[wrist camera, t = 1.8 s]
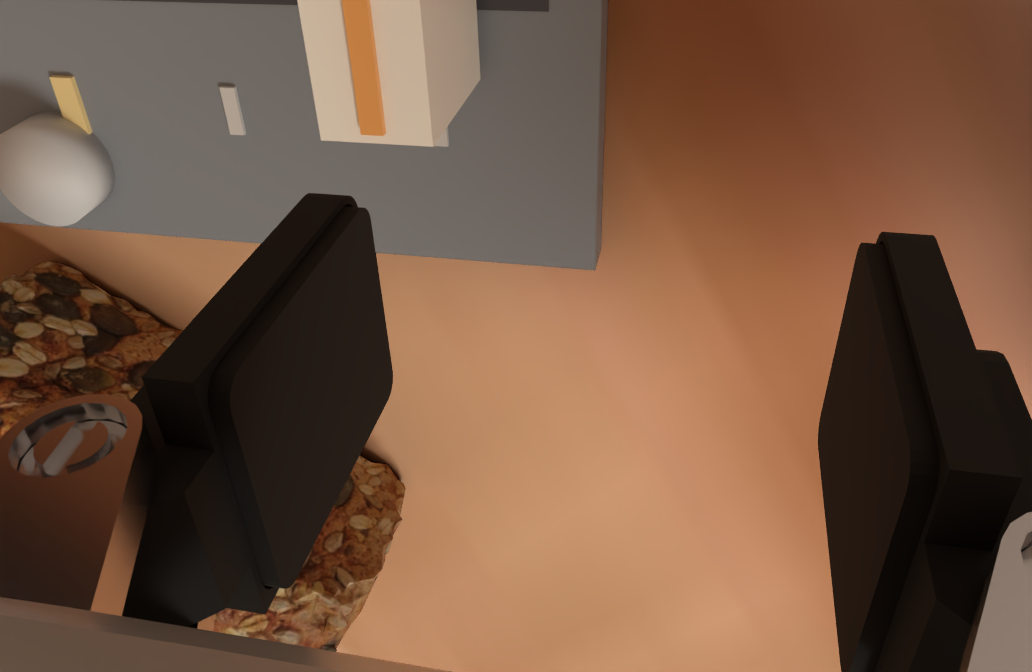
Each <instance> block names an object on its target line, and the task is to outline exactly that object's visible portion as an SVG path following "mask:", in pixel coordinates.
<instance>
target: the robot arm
mask: <svg viewBox="0 0 1032 672" xmlns="http://www.w3.org/2000/svg"><path fill="white" fill-rule="evenodd" d="M142 380H143V383H144V385H143V386H142V388H141V389H140V390H139V391H138V392H137V393H136V394H135V396H134V397H133V398H132V399H131V400H130V401H129V400H127V399H125V398H124V397H119V396H114V395H109V394H86V395H81V396H76V397H71V398H66V399H63V400H60V401H57V402H55V403H52V404H49V405H47V406H44V407H41V408H40V409H38V410H36V411H34V412H33V413H31V414H29V415H27V416H26V417H24V418H22V419H21V420H20V421H19V422H17V423H16V424H15V425H14V426H13V427H11V428H10V429H9V430H8V431H7V432H6V433H5V434H4V435H3V437H2V438H1V440H0V672H450V671H445V670H439V669H433V668H427V667H421V666H415V665H410V664H404V663H398V662H392V661H386V660H380V659H374V658H369V657H363V656H357V655H351V654H345V653H339V652H333V651H327V650H322V649H316V648H310V647H304V646H298V645H292V644H286V643H281V642H275V641H268V640H262V639H256V638H250V637H244V636H238V635H232V634H226V633H220V632H214V614H216V613H218V612H220V611H222V610H224V609H225V608H229V609H235V610H241V611H247V612H253V613H259V614H266V613H267V611H268V609H269V607H270V605H271V603H272V601H273V599H274V597H275V595H276V594H277V592H278V590H279V588H283V589H287V588H290V587H291V586H292V585H293V583H294V582H295V580H296V579H297V577H298V575H299V573H300V571H301V569H302V567H303V565H304V563H305V561H306V559H307V557H308V555H309V553H310V551H311V549H312V547H313V545H314V543H315V542H316V540H317V538H318V536H319V534H320V532H321V530H322V528H323V526H324V524H325V522H326V520H327V518H328V516H329V514H330V512H331V510H332V508H333V506H334V504H335V502H336V501H337V499H338V497H339V495H340V493H341V491H342V489H343V487H344V485H345V483H346V481H347V479H348V477H349V475H350V473H351V471H352V469H353V467H354V465H355V463H356V461H357V460H358V458H359V456H360V454H361V452H362V450H363V448H364V446H365V444H366V442H367V440H368V438H369V436H370V434H371V432H372V430H373V428H374V426H375V424H376V422H377V420H378V419H379V417H380V415H381V413H382V411H383V409H384V407H385V405H386V403H387V401H388V399H389V396H390V393H391V389H392V383H393V371H392V364H391V357H390V350H389V343H388V336H387V329H386V322H385V315H384V308H383V301H382V294H381V287H380V280H379V273H378V266H377V259H376V252H375V245H374V238H373V231H372V224H371V218H370V214H369V212H368V210H367V209H366V208H362V207H358V206H357V203H356V201H355V199H354V198H353V197H352V196H348V195H333V194H318V193H308V194H306V195H305V196H304V197H303V198H302V199H301V200H300V201H299V202H298V203H297V204H296V206H295V207H294V208H293V209H292V210H291V211H290V212H289V213H288V214H287V216H286V217H285V218H284V219H283V220H282V221H281V222H280V223H279V225H278V226H277V227H276V228H275V229H274V230H273V231H272V232H271V233H270V235H269V236H268V237H267V238H266V239H265V240H264V241H263V242H262V243H261V245H260V246H259V247H258V248H257V249H256V250H255V251H254V252H253V253H252V255H251V256H250V257H249V258H248V259H247V260H246V261H245V262H244V263H243V265H242V266H241V267H240V268H239V269H238V270H237V271H236V272H235V274H234V275H233V276H232V277H231V278H230V279H229V280H228V281H227V282H226V284H225V285H224V286H223V287H222V288H221V289H220V290H219V291H218V292H217V294H216V295H215V296H214V297H213V298H212V299H211V300H210V301H209V302H208V304H207V305H206V306H205V307H204V308H203V309H202V310H201V311H200V312H199V314H198V315H197V316H196V317H195V318H194V319H193V320H192V321H191V323H190V324H189V325H188V326H187V327H186V328H185V329H184V330H183V331H182V333H181V334H180V335H179V336H178V337H177V338H176V339H175V340H174V341H173V343H172V344H171V345H170V346H169V347H168V348H167V349H166V350H165V351H164V353H163V354H162V355H161V356H160V357H159V358H158V359H157V360H156V361H155V363H154V364H153V365H152V366H151V367H150V368H149V369H148V370H147V372H146V373H145V374H144V375H143V376H142ZM818 450H819V460H820V469H821V479H822V489H823V499H824V509H825V518H826V528H827V538H828V548H829V557H830V567H831V577H832V587H833V596H834V606H835V616H836V626H837V636H838V645H839V655H840V664H841V671H842V672H1032V419H1031V417H1030V414H1029V412H1028V410H1027V407H1026V405H1025V402H1024V400H1023V397H1022V395H1021V392H1020V390H1019V387H1018V385H1017V382H1016V380H1015V378H1014V375H1013V373H1012V370H1011V368H1010V365H1009V363H1008V361H1007V360H1006V358H1005V356H1004V355H1003V354H1002V353H999V352H997V351H987V350H976V347H975V345H974V342H973V339H972V336H971V334H970V331H969V328H968V325H967V323H966V320H965V317H964V314H963V312H962V309H961V306H960V303H959V301H958V298H957V295H956V292H955V290H954V287H953V284H952V281H951V279H950V276H949V273H948V270H947V268H946V265H945V262H944V259H943V257H942V254H941V251H940V248H939V246H938V243H937V240H936V238H935V237H934V236H933V235H920V234H905V233H891V232H881V234H880V235H879V237H878V239H877V242H876V244H872V243H861V244H860V246H859V248H858V252H857V255H856V260H855V264H854V269H853V273H852V278H851V282H850V286H849V291H848V295H847V300H846V304H845V309H844V313H843V318H842V322H841V327H840V331H839V336H838V340H837V345H836V349H835V354H834V358H833V363H832V367H831V372H830V376H829V381H828V385H827V390H826V394H825V399H824V403H823V408H822V412H821V417H820V422H819V432H818Z"/></svg>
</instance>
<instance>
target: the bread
mask: <svg viewBox="0 0 1032 672" xmlns="http://www.w3.org/2000/svg"><path fill="white" fill-rule="evenodd" d="M181 333H182V331H181V330H178V329H174V328H171V327H169V326H167V325H165V324H163V323H161V322H159V321H157V320H156V319H154V318H153V317H152V316H151V315H149V314H148V313H146V312H142V311H137V310H136V309H135V308H134V307H133V306H132V305H131V304H130V303H129V302H128V301H127V300H124V299H121V298H117V297H113V296H110V295H109V294H108V293H107V292H105V291H104V290H102V289H101V288H99V287H98V286H96V285H94V284H93V283H91V282H90V281H88V280H87V279H86V278H85V277H84V275H83V274H82V273H81V272H80V271H78V270H75V269H73V268H70V267H68V266H66V265H63V264H60V263H55V262H50V261H47V262H44V263H40V264H38V265H36V266H34V267H32V268H30V269H29V270H28V271H26V272H25V273H24V274H23V275H22V276H21V277H19V276H17V275H15V274H13V276H12V277H11V279H10V278H8V277H6V278H5V280H4V281H3V283H2V285H1V286H0V440H1V438H2V437H3V435H4V434H5V433H6V432H7V431H8V430H9V429H10V428H11V427H13V426H14V425H15V424H16V423H17V422H19V421H20V420H21V419H22V418H24V417H26V416H27V415H29V414H31V413H33V412H34V411H36V410H38V409H40V408H41V407H44V406H47V405H49V404H52V403H55V402H57V401H60V400H63V399H66V398H71V397H76V396H81V395H86V394H109V395H114V396H119V397H124V398H125V399H127V400H129V401H130V400H131V399H132V398H133V397H134V396H135V394H136V393H137V392H138V391H139V390H140V389H141V388H142V386H143V385H144V383H143V380H142V376H143V375H144V374H145V373H146V372H147V370H148V369H149V368H150V367H151V366H152V365H153V364H154V363H155V361H156V360H157V359H158V358H159V357H160V356H161V355H162V354H163V353H164V351H165V350H166V349H167V348H168V347H169V346H170V345H171V344H172V343H173V341H174V340H175V339H176V338H177V337H178V336H179V335H180V334H181ZM404 494H405V486H404V484H403V483H402V482H400V481H399V480H398V479H397V478H396V476H395V475H394V474H393V472H392V471H391V469H390V468H389V466H388V464H380V463H372V462H370V461H368V460H367V459H365V458H363V457H361V456H359V458H358V460H357V461H356V463H355V465H354V467H353V469H352V471H351V473H350V475H349V477H348V479H347V481H346V483H345V485H344V487H343V489H342V491H341V493H340V495H339V497H338V499H337V501H336V502H335V504H334V506H333V508H332V510H331V512H330V514H329V516H328V518H327V520H326V522H325V524H324V526H323V528H322V530H321V532H320V534H319V536H318V538H317V540H316V542H315V543H314V545H313V547H312V549H311V551H310V553H309V555H308V557H307V559H306V561H305V563H304V565H303V567H302V569H301V571H300V573H299V575H298V577H297V579H296V580H295V582H294V583H293V585H292V586H291V587H290V588H287V589H283V588H279V590H278V592H277V594H276V595H275V597H274V599H273V601H272V603H271V605H270V607H269V609H268V611H267V613H266V614H259V613H253V612H247V611H241V610H235V609H229V608H225V609H224V610H222V611H220V612H218V613H216V614H214V632H220V633H226V634H232V635H238V636H244V637H250V638H256V639H262V640H268V641H275V642H281V643H286V644H292V645H298V646H304V647H310V648H316V649H322V650H327V651H333V652H336V651H337V650H336V648H337V646H338V644H339V643H340V641H341V639H342V637H343V636H344V634H345V633H346V631H347V630H348V628H349V627H350V625H351V624H352V623H353V621H354V620H355V619H356V617H357V616H358V615H359V613H360V612H361V610H362V608H363V606H364V604H365V602H366V599H367V597H368V595H369V593H370V591H371V589H372V586H373V584H374V582H375V580H376V578H377V576H378V574H379V573H380V571H381V570H382V567H383V565H384V562H385V554H387V553H388V552H389V548H390V545H391V542H392V539H393V534H394V532H395V531H396V529H397V527H398V526H399V524H400V522H401V521H402V518H401V517H400V513H401V508H402V503H403V499H404Z"/></svg>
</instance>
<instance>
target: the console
mask: <svg viewBox="0 0 1032 672" xmlns="http://www.w3.org/2000/svg"><path fill="white" fill-rule="evenodd" d="M476 6H477V25H478V43H479V61H480V81H479V82H478V84H477V85H476V86H475V88H474V89H473V91H472V92H471V94H470V95H469V96H468V98H467V99H466V101H465V102H464V104H463V105H462V106H461V108H460V109H459V111H458V112H457V113H456V115H455V116H454V118H453V119H452V121H451V122H450V123H449V125H448V126H447V128H446V129H445V131H444V132H443V133H442V135H441V136H440V138H439V139H438V141H437V142H436V143H435V145H434V146H433V147H428V146H411V145H393V144H375V143H357V142H340V141H322V140H321V138H320V132H319V126H318V120H317V114H316V108H315V102H314V96H313V90H312V84H311V79H310V73H309V67H308V61H307V55H306V49H305V43H304V37H303V31H302V25H301V20H300V14H299V8H298V2H297V0H0V222H2V223H15V224H27V225H39V226H52V227H64V228H76V229H89V230H101V231H114V232H126V233H138V234H151V235H163V236H176V237H188V238H200V239H213V240H225V241H238V242H250V243H262V242H263V241H264V240H265V239H266V238H267V237H268V236H269V235H270V233H271V232H272V231H273V230H274V229H275V228H276V227H277V226H278V225H279V223H280V222H281V221H282V220H283V219H284V218H285V217H286V216H287V214H288V213H289V212H290V211H291V210H292V209H293V208H294V207H295V206H296V204H297V203H298V202H299V201H300V200H301V199H302V198H303V197H304V196H305V195H306V194H308V193H318V194H333V195H348V196H352V197H353V198H354V199H355V201H356V203H357V206H358V207H362V208H366V209H367V210H368V212H369V214H370V218H371V224H372V231H373V238H374V245H375V252H376V253H386V254H399V255H411V256H424V257H436V258H448V259H461V260H473V261H485V262H498V263H510V264H523V265H535V266H547V267H560V268H572V269H585V270H595V269H596V265H597V262H598V258H599V254H600V250H601V230H602V195H603V161H604V126H605V91H606V57H607V22H608V0H476Z"/></svg>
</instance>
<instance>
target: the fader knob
mask: <svg viewBox="0 0 1032 672" xmlns="http://www.w3.org/2000/svg"><path fill="white" fill-rule="evenodd" d="M297 2H298V8H299V14H300V20H301V25H302V31H303V37H304V43H305V49H306V55H307V61H308V67H309V73H310V79H311V84H312V90H313V96H314V102H315V108H316V114H317V120H318V126H319V132H320V138H321V140H322V141H340V142H357V143H375V144H393V145H411V146H428V147H433V146H434V145H435V143H436V142H437V141H438V139H439V138H440V136H441V135H442V133H443V132H444V131H445V129H446V128H447V126H448V125H449V123H450V122H451V121H452V119H453V118H454V116H455V115H456V113H457V112H458V111H459V109H460V108H461V106H462V105H463V104H464V102H465V101H466V99H467V98H468V96H469V95H470V94H471V92H472V91H473V89H474V88H475V86H476V85H477V84H478V82H479V81H480V61H479V43H478V25H477V6H476V0H297Z"/></svg>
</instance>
